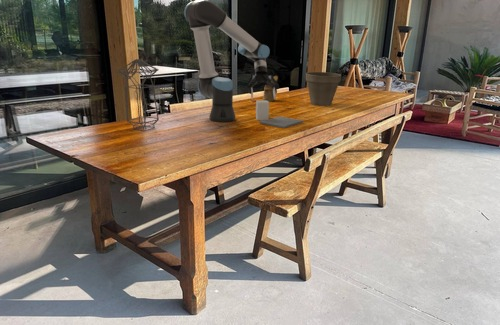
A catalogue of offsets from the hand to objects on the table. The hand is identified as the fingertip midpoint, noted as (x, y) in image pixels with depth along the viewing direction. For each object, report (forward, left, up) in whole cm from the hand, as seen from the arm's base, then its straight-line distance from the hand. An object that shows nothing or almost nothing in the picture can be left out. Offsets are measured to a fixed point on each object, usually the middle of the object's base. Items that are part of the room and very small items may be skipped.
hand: (263, 97), depth 233 cm
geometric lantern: (-67, +28, -12) cm, 74 cm away
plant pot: (+66, -3, -12) cm, 67 cm away
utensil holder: (+53, +33, -12) cm, 63 cm away
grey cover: (-5, -3, -12) cm, 13 cm away
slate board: (-5, -17, -12) cm, 21 cm away
